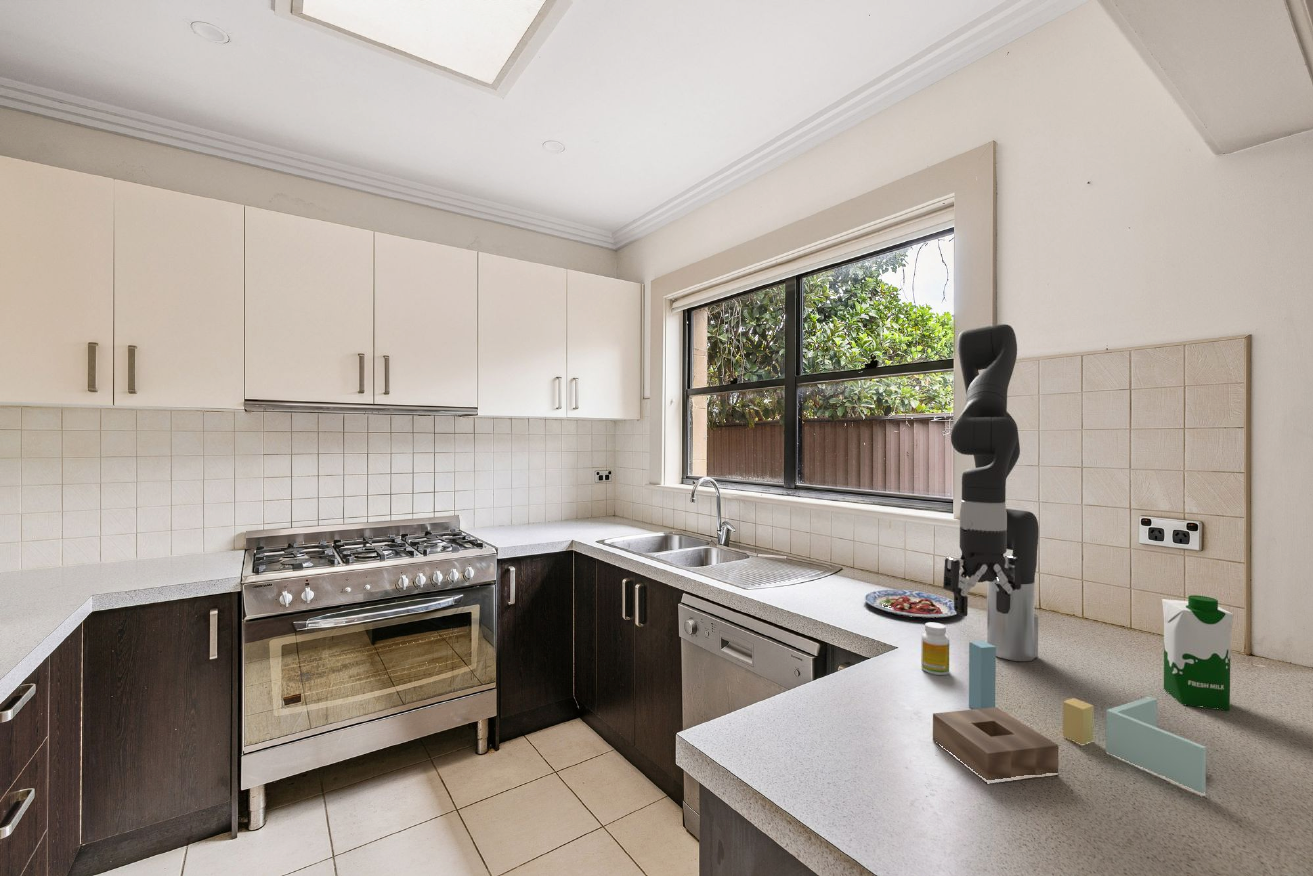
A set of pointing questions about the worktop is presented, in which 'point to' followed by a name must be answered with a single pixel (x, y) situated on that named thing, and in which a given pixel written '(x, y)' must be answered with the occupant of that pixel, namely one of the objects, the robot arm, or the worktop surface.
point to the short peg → (1078, 720)
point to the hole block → (995, 743)
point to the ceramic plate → (911, 603)
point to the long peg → (982, 675)
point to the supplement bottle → (935, 649)
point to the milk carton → (1197, 651)
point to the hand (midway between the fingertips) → (981, 613)
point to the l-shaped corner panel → (1154, 744)
